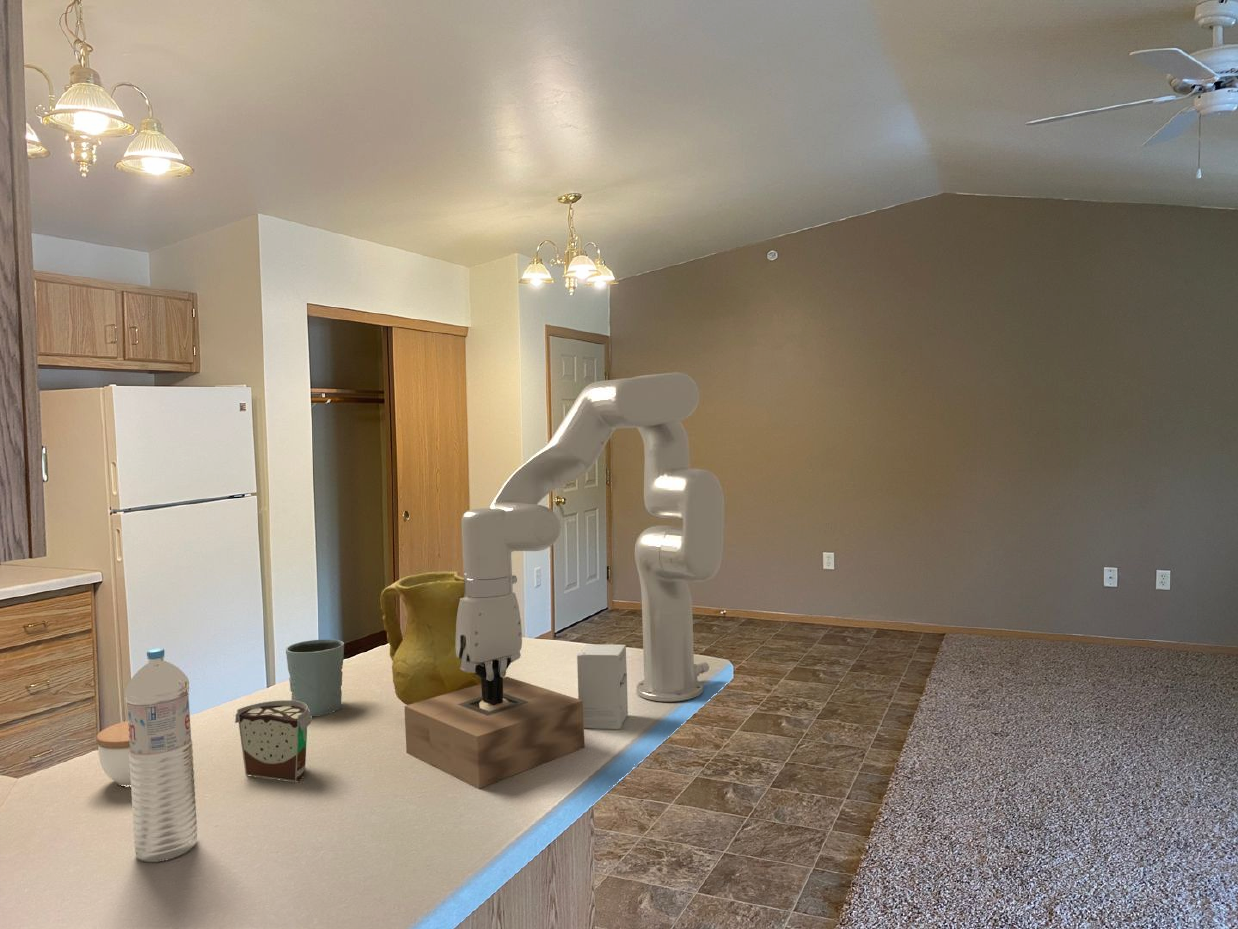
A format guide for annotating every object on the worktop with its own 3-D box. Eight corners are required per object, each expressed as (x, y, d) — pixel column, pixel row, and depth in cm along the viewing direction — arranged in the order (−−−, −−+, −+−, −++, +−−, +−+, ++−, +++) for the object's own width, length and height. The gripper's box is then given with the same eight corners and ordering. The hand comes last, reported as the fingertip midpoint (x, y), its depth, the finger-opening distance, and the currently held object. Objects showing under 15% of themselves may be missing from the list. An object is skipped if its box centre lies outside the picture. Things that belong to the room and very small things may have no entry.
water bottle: (151, 838, 105) (140, 644, 104) (207, 834, 105) (196, 641, 104) (123, 866, 98) (111, 659, 97) (183, 862, 98) (171, 656, 97)
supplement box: (621, 730, 137) (618, 655, 136) (578, 728, 138) (575, 654, 138) (629, 715, 144) (626, 643, 143) (588, 713, 145) (585, 643, 145)
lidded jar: (99, 801, 116) (95, 736, 116) (99, 775, 125) (96, 715, 125) (184, 782, 122) (181, 719, 121) (179, 759, 131) (175, 701, 131)
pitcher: (423, 739, 136) (416, 589, 135) (374, 712, 150) (368, 576, 149) (510, 713, 147) (504, 574, 146) (457, 690, 161) (451, 564, 160)
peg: (498, 738, 133) (496, 696, 133) (514, 745, 130) (513, 701, 130) (475, 746, 130) (473, 703, 130) (491, 753, 127) (490, 709, 127)
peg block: (508, 718, 144) (506, 676, 144) (584, 747, 130) (582, 700, 130) (406, 752, 130) (404, 705, 130) (479, 789, 116) (477, 736, 116)
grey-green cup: (276, 715, 150) (273, 650, 150) (316, 697, 160) (313, 636, 159) (320, 720, 146) (317, 654, 146) (358, 702, 156) (355, 640, 155)
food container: (332, 767, 126) (329, 702, 125) (304, 783, 120) (301, 716, 119) (267, 759, 130) (264, 696, 129) (237, 774, 124) (234, 709, 123)
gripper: (512, 577, 137) (516, 686, 138) (434, 592, 126) (438, 709, 127) (540, 582, 131) (544, 695, 132) (461, 598, 121) (466, 720, 122)
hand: (492, 702), depth 130 cm, fingers closed
